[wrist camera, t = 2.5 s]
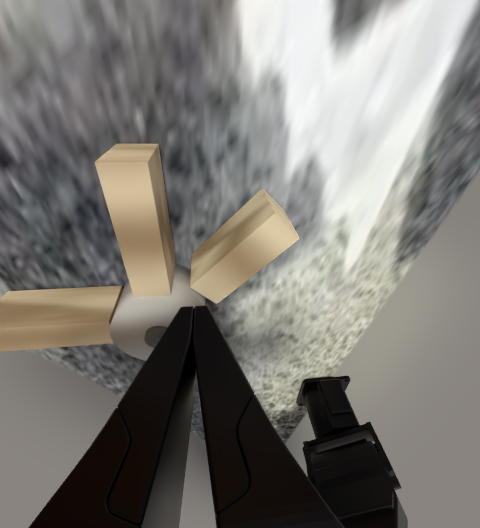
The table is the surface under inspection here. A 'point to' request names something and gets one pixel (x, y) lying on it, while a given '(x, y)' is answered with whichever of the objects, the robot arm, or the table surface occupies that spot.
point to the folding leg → (241, 247)
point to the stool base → (136, 263)
